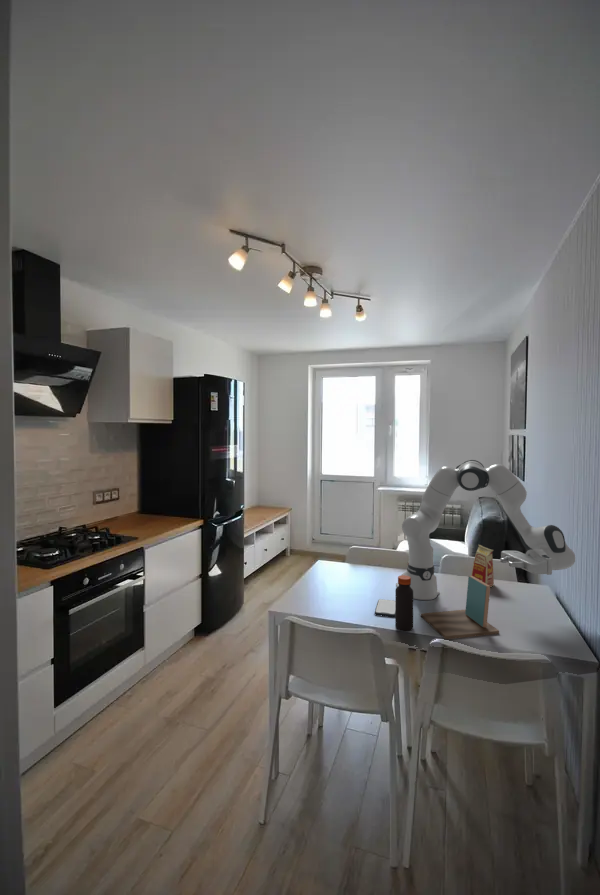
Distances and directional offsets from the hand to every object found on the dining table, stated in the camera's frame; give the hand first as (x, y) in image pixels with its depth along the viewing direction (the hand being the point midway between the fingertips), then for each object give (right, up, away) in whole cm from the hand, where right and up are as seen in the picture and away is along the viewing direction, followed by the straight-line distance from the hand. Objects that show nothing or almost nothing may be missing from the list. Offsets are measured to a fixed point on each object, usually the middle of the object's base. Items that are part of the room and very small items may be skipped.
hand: (505, 562), depth 172 cm
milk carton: (+9, -23, +41) cm, 48 cm away
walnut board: (-20, -24, -2) cm, 31 cm away
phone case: (-45, -24, +14) cm, 53 cm away
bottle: (-42, -25, -4) cm, 49 cm away
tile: (-14, -23, -2) cm, 27 cm away
